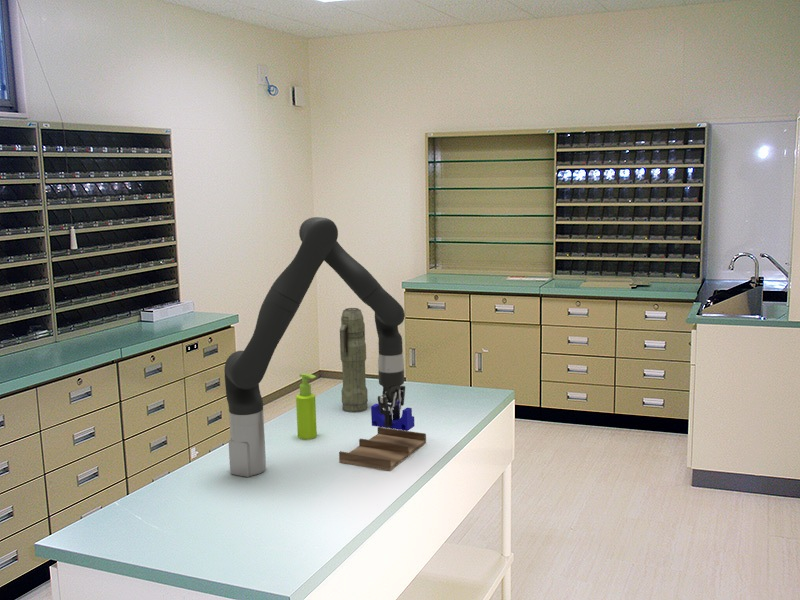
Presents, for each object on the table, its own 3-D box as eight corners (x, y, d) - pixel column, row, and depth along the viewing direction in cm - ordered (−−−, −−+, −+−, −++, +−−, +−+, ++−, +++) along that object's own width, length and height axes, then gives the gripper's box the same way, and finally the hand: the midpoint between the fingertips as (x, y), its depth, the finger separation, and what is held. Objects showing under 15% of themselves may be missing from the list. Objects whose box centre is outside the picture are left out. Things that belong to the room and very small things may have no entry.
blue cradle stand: (414, 426, 231) (413, 406, 230) (407, 430, 227) (407, 411, 226) (379, 421, 237) (378, 402, 236) (371, 425, 233) (371, 406, 232)
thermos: (334, 411, 268) (331, 311, 262) (352, 402, 278) (349, 305, 272) (357, 415, 264) (354, 312, 258) (374, 405, 274) (371, 307, 268)
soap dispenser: (310, 441, 239) (307, 377, 235) (293, 437, 243) (291, 374, 240) (323, 436, 243) (320, 373, 240) (307, 432, 247) (304, 370, 244)
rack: (389, 470, 214) (389, 460, 213) (339, 462, 221) (339, 452, 220) (426, 443, 235) (425, 433, 235) (378, 436, 242) (378, 426, 242)
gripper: (391, 375, 221) (393, 433, 224) (413, 363, 234) (414, 418, 237) (368, 373, 225) (370, 430, 227) (390, 361, 237) (392, 415, 240)
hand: (392, 423), depth 232 cm, fingers closed on blue cradle stand, 4 cm apart
